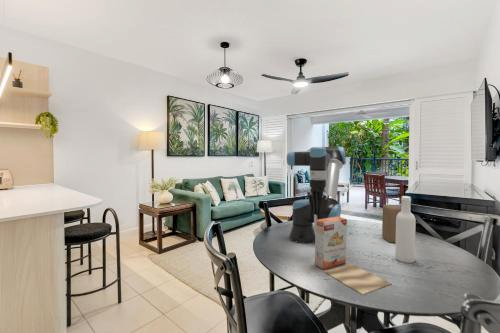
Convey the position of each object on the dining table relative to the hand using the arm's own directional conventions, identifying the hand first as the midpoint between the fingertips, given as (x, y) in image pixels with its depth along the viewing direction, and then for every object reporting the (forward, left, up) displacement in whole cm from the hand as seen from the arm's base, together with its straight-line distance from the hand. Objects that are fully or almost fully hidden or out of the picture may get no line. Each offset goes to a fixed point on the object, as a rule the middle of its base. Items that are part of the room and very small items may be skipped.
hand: (317, 227), depth 119 cm
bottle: (+21, +35, -15) cm, 43 cm away
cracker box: (+9, 0, -15) cm, 17 cm away
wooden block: (+2, +56, -15) cm, 58 cm away
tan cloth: (+23, 0, -15) cm, 27 cm away
